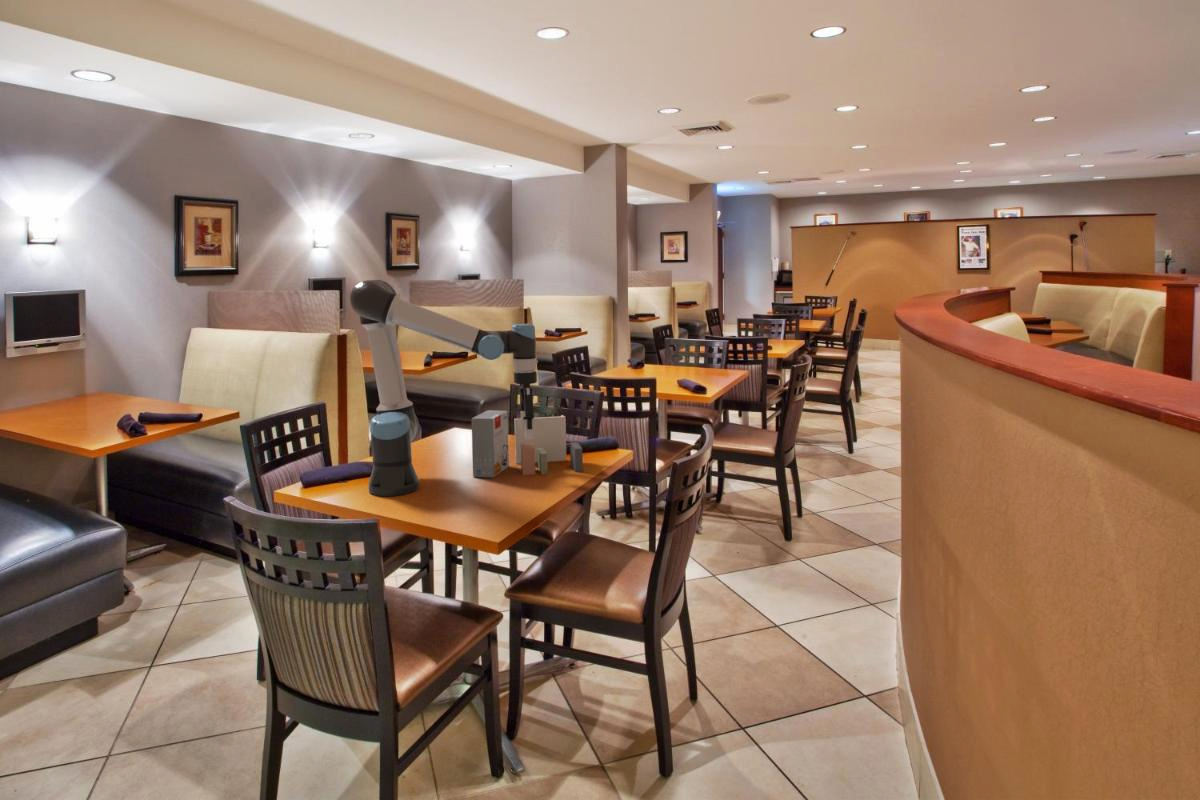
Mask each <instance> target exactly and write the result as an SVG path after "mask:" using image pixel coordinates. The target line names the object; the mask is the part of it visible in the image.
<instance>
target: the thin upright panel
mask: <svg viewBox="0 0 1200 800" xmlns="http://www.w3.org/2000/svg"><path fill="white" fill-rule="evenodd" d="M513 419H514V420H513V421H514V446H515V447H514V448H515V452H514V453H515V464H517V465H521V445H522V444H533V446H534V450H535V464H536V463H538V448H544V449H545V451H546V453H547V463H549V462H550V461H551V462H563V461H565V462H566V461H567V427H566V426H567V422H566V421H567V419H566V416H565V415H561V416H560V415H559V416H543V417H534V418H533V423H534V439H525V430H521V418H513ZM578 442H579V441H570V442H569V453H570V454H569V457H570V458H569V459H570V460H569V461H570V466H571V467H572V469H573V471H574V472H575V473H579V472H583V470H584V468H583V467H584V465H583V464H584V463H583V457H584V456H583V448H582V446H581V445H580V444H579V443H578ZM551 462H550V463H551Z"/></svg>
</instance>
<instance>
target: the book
mask: <svg viewBox="0 0 1200 800" xmlns="http://www.w3.org/2000/svg"><path fill="white" fill-rule="evenodd" d="M520 465H521V466H520V467H521V469H520V470H521V473H522V475H523V476H527V475H536V463H535V450H534V446H533V444H522V445H521V464H520Z"/></svg>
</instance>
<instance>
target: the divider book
mask: <svg viewBox="0 0 1200 800" xmlns="http://www.w3.org/2000/svg"><path fill="white" fill-rule="evenodd" d="M537 467H538V471H539V472H540V475H544V474H545V475H547V474H548V462H547V453H546V451H545V449H544V448H538V462H537Z"/></svg>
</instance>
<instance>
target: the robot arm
mask: <svg viewBox="0 0 1200 800" xmlns="http://www.w3.org/2000/svg"><path fill="white" fill-rule="evenodd" d="M349 302H350V303H349V304H350V306H351V308H352V310H353V311H354V312H355V313H356V314H357V315H359V321H360V326H361V327H363V328H364V329H365V330H366V331H367V332H366V333H367V336H368V343H369V348H370V349H369V350H370V354H371V359H372V364H373V365H372V366H373V371H374V376H375V381H376V387H377V392H378V400H379V404H378V406H377V407H376V409H375V410H376V415H375V416H373V417H372V418H371V419H370V425H369V432H370V440H371V441H370V443H371V455H372V469H371V474H370V477H369V481H368V492H369V494H371V495H374V496H379V497H393V496H394V497H395V496H401V495H402V496H403V495H407V494H411V493H413V492H415V491H417V490H418V489H419V488H420V480H419V477H418V475H417V473H416V470H415V468H414V465H413V460H412V459H413V458H412V442H413V440H415V438H416V437H417V435H418V432H419V426H420V424H419V419H418V417H417V415H416V413H415V408H414V403H413V401H411V400H409V399H408V396H407V389H406V385H405V380H404V373H403V367H402V361H401V356H400V350H399V344H398V338H397V333H396V325H397V326H400V327H401V328H402V327H403V328H405V329H408V330H410V331H413V332H416V333H419V334H422V335H425V336H427V337H430V338H433V339H436V340H438V341H441V342H444V343H447V344H449V345H452V346H454V347H457V348H460V349H463V350H465V351H469V352H471V353H473V354H476V355H479V356H481V357H482V358H483V359H485V360H488V361H489V360H490V361H492V360H496V359H498V358H500V357H501V356H502V354H503V355H506V354H507V355H509V354H512V358H513V359H512V361H513V362H512V365H513V367H512V370H513V371H514V372H513V382H514V384H516V385H519V410H520V419H521V430H525V439H534V423H533V418H535V414H534V413H535V412H534V403H533V388H532V387H531V385H532V384H536V383H537V382H538V373H537V371H536V370H537V364H538V363H539V361H538V360H537V345H536V343H537V341H536V338H537V337H536V327H535V326H534V325H533V324H532V323H516V324H512V326H511V330H484V329H480V328H478V327H475V326H473V325H470V324H468V323H464V322H462V321H459V320H456V319H454V318H452V317H449V316H445V315H443V314H440V313H438V312H436V311H433V310H431V309H427V308H425V307H422V306H419V305H416V304H415V303H411V302H410V301H409V302H408V301H406V300H404V299H401V297H400V295H399V294H397V292H396V290H395V289H394V288H393V286H392V285H391V284H390V283H388V282H386V281H385V280H381V279H372V280H371V279H369V280H362V281H360V282H358V283H356V284H355V285H354V286H353V288H352V289H351V291H350V294H349Z"/></svg>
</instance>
